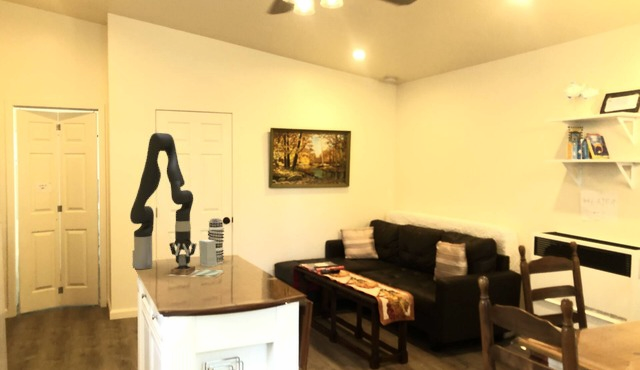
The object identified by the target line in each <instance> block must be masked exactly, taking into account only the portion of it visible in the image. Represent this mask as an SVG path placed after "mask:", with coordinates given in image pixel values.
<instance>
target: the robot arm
mask: <svg viewBox="0 0 640 370" xmlns="http://www.w3.org/2000/svg"><path fill="white" fill-rule="evenodd" d="M174 139H175V138H174V137H173V136H172V135H171V134H169V133H165V132H163V133H162V132H161V133H160V132H155V133H153V134H151V135H150V137H149V140H148V146H147V153H146V158H145V164H144V168H143V171H142V175H141V177H140V181H139V182H140V183H139V187H138V190H137V192H136V196H135V198H134V202H133V204H132V207H131V210H130V215H129V216H130V217H129V218H130V221H131V223H132V224H134V225H140V227H139V228H137V229H135V230H134V231H133V250H132V269H135V270H146V269H147V270H148V269H151V268H153V232H154V224H155V223H154V222H155V221H154V220H155V213H154V209H153V208H152V206H149V205H147V202H148V200H149V199H150V198H151V197H152V195H153V194H154V193H155V192H156V191H157V189H158V187H159V185H160V181H161V178H162V173H161V169H160V166H159V163H158V159H159V156H160V152H165V155H166V156H167V166H166V175H167V179H168V181H169V184H170V194H171V200H172V202H173V203H174V204H175V205H178V206H179V205H181V207H179V208H177V209H176V211H175V225H174V232H175V233H174V237H175V238H174V239H175V241H174V242H170V243H169V249H170V251H171V254H172V255H173V256H175V263H176V264H178V255H180V254H181V252H182V251H184V253H185V254H186V255H187V257H186V264H190V263H191V256H194V255H195V252H196V249H197V246H198V244H197V243H194V242H192V241H191V238H192V237H191V234H192V231H191V228H192V227H191V211H192V206H193V204H194V194H193V192H192V191H191V190H189V189H188V190H187V189H184V190H183V189H181V188H182V187H183V186H184V185H185V179H184V176H183V173H182V171H181V168H180V165H179V159H178V153H177V149H176V142H175V140H174ZM190 247H191V249H190Z"/></svg>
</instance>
